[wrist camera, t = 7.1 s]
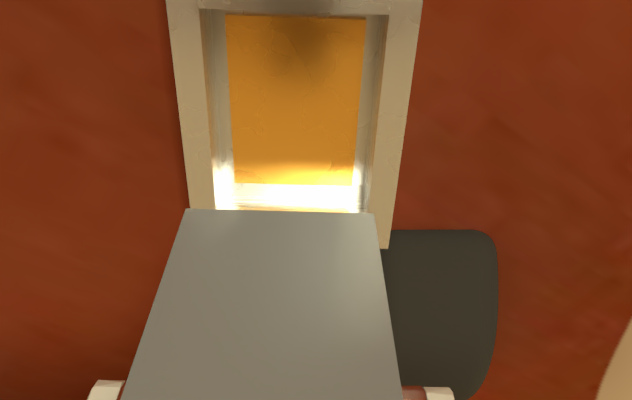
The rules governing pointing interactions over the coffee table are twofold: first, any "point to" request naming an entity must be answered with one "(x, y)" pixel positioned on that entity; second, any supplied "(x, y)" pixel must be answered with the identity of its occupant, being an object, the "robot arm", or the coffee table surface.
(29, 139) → the coffee table surface
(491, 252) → the computer mouse
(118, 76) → the coffee table surface
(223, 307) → the grey block
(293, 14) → the tray
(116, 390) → the robot arm
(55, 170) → the coffee table surface
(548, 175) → the coffee table surface
